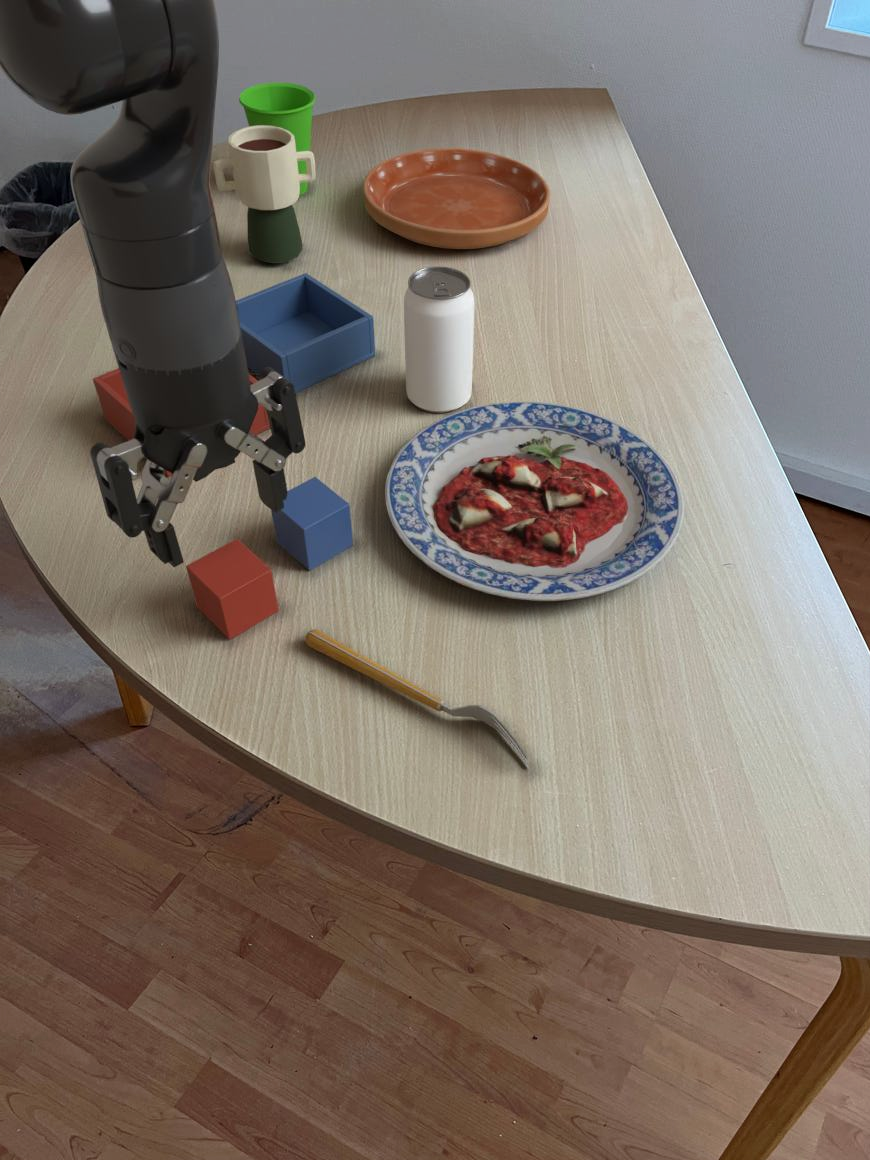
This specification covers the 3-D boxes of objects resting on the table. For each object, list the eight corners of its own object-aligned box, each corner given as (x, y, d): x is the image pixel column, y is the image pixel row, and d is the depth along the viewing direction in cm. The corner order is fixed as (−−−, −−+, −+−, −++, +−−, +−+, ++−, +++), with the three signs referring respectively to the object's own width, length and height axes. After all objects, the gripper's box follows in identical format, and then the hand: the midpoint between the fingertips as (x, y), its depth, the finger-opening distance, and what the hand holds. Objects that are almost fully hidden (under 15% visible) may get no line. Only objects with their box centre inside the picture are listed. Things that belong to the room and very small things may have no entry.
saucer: (486, 162, 130) (488, 133, 127) (583, 234, 118) (587, 204, 115) (333, 197, 122) (331, 167, 119) (420, 278, 109) (419, 247, 107)
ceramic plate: (605, 664, 73) (610, 639, 71) (327, 542, 81) (323, 516, 78) (721, 478, 88) (728, 452, 86) (477, 390, 96) (478, 364, 93)
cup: (263, 210, 119) (250, 115, 111) (243, 179, 124) (230, 87, 116) (332, 199, 122) (325, 106, 113) (310, 169, 127) (302, 78, 118)
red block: (229, 640, 73) (219, 599, 70) (196, 607, 75) (185, 565, 72) (279, 611, 75) (271, 569, 72) (245, 579, 77) (236, 537, 74)
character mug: (316, 235, 115) (305, 120, 105) (329, 263, 111) (318, 147, 101) (224, 246, 113) (204, 129, 103) (234, 275, 108) (214, 157, 99)
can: (466, 374, 97) (469, 262, 88) (476, 412, 93) (481, 298, 84) (402, 378, 96) (399, 265, 87) (410, 417, 92) (407, 303, 83)
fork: (295, 637, 71) (526, 757, 65) (309, 618, 72) (540, 734, 65) (304, 654, 74) (529, 771, 67) (318, 635, 74) (542, 749, 67)
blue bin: (286, 397, 94) (281, 357, 90) (222, 348, 99) (214, 308, 95) (375, 355, 99) (373, 316, 96) (310, 311, 104) (306, 272, 101)
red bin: (168, 477, 85) (157, 436, 82) (104, 419, 90) (91, 378, 87) (272, 427, 91) (266, 386, 87) (206, 375, 96) (198, 334, 92)
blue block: (309, 571, 78) (303, 529, 75) (276, 542, 80) (269, 500, 77) (353, 545, 80) (349, 504, 77) (320, 517, 83) (315, 476, 79)
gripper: (240, 267, 62) (274, 465, 74) (33, 347, 55) (107, 550, 68) (310, 314, 59) (333, 514, 71) (98, 405, 52) (164, 608, 64)
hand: (223, 531), depth 69 cm, fingers open, 8 cm apart
